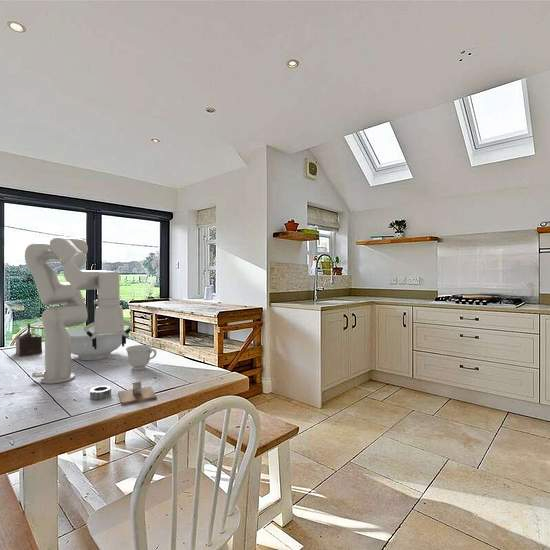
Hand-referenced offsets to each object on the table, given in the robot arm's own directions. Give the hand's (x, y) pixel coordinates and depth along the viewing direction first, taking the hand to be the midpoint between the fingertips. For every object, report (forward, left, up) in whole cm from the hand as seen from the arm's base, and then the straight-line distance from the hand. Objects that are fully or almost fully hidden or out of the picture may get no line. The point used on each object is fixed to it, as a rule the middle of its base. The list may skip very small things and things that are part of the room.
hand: (109, 347), depth 134 cm
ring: (-3, -3, -18) cm, 18 cm away
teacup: (+16, +27, -18) cm, 36 cm away
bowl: (-3, +61, -18) cm, 64 cm away
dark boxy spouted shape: (-32, +85, -18) cm, 93 cm away
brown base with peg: (+9, -9, -18) cm, 22 cm away
